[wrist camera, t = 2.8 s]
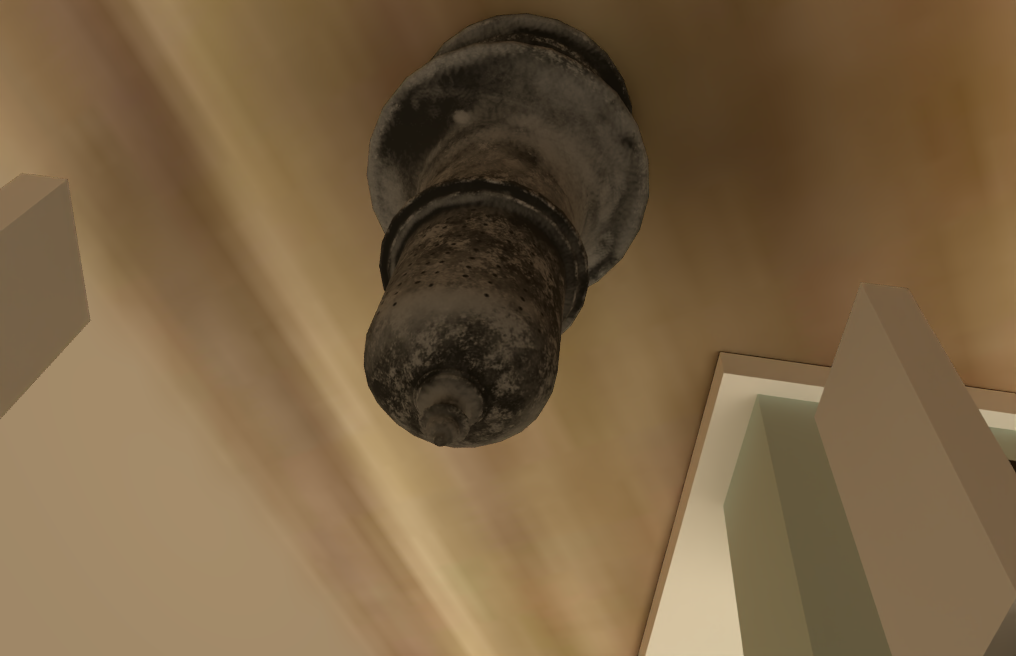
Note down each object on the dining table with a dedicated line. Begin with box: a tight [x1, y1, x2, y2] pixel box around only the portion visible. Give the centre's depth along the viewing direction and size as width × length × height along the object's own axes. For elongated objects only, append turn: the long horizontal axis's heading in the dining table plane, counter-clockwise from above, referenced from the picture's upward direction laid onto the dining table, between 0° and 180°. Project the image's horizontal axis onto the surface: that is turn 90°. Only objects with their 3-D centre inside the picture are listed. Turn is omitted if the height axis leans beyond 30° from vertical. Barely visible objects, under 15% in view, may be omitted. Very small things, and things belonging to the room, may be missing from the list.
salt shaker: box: [364, 14, 649, 448], centre depth 17 cm, size 6×6×12 cm
